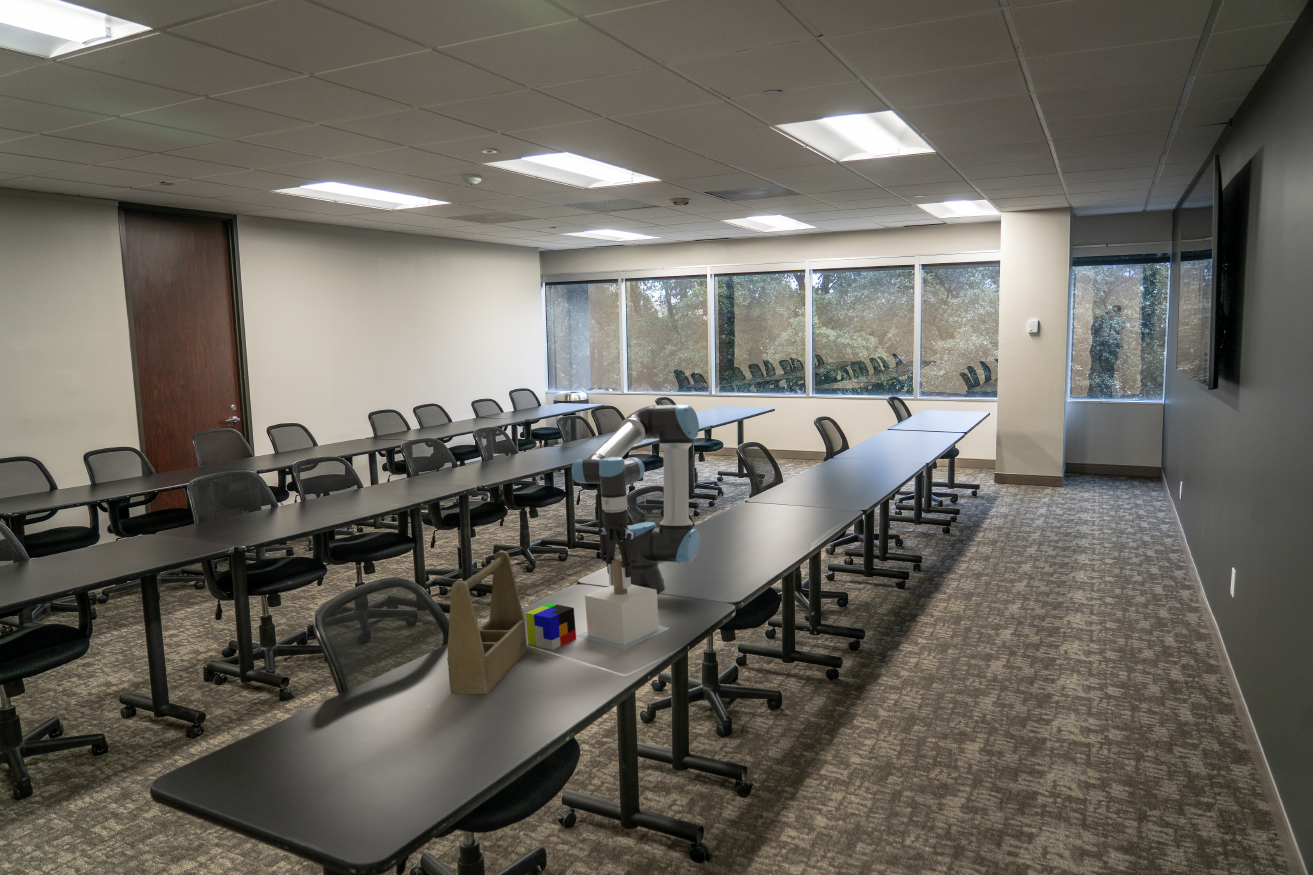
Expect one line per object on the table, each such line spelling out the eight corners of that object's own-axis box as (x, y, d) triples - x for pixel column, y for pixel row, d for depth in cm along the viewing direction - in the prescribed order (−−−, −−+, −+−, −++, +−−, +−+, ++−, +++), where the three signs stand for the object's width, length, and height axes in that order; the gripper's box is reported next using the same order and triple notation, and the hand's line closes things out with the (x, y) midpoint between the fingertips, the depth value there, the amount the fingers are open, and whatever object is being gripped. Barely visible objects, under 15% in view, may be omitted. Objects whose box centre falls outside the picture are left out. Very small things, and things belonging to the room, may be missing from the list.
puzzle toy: (552, 651, 240) (550, 617, 238) (528, 645, 246) (525, 612, 244) (576, 640, 247) (573, 607, 246) (552, 634, 253) (549, 602, 252)
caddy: (488, 695, 212) (477, 581, 209) (449, 693, 214) (438, 581, 211) (528, 651, 241) (519, 550, 237) (493, 650, 243) (484, 551, 239)
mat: (622, 617, 264) (622, 616, 264) (670, 629, 251) (670, 628, 251) (576, 637, 250) (576, 635, 250) (624, 650, 236) (624, 649, 236)
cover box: (622, 619, 261) (618, 550, 258) (659, 629, 251) (654, 557, 248) (587, 634, 250) (582, 562, 247) (624, 644, 240) (618, 569, 237)
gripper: (584, 509, 249) (590, 584, 252) (628, 515, 237) (633, 594, 240) (602, 504, 254) (608, 578, 257) (645, 509, 243) (650, 587, 245)
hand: (620, 585), depth 249 cm, fingers open, 5 cm apart
